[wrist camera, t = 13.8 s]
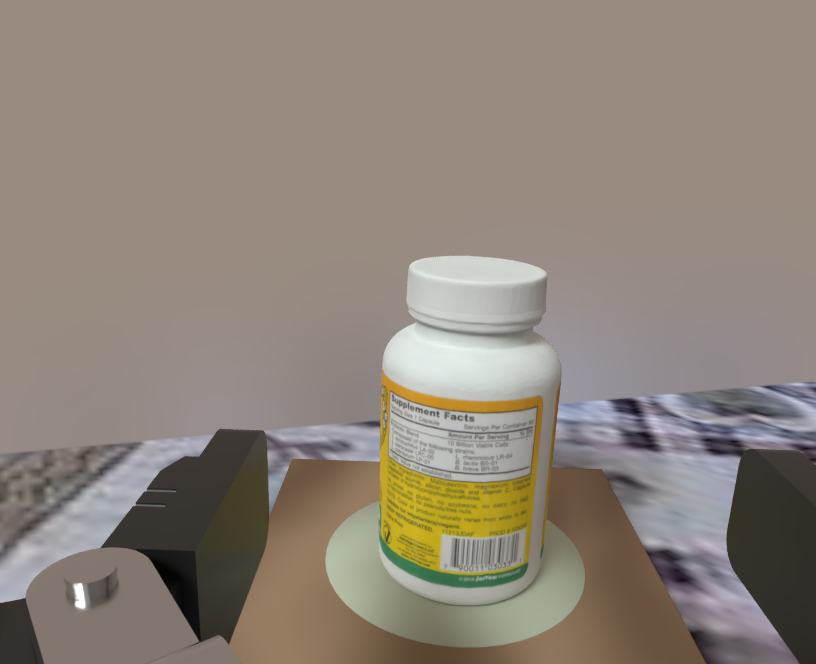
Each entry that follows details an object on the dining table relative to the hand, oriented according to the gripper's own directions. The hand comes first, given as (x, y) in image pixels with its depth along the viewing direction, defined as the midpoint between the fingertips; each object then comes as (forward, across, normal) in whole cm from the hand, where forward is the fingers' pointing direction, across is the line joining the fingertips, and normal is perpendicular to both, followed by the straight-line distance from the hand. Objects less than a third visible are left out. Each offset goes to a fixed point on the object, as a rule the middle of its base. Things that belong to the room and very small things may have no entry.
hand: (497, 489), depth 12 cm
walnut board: (+9, 0, +9) cm, 13 cm away
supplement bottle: (+9, 0, +8) cm, 12 cm away
